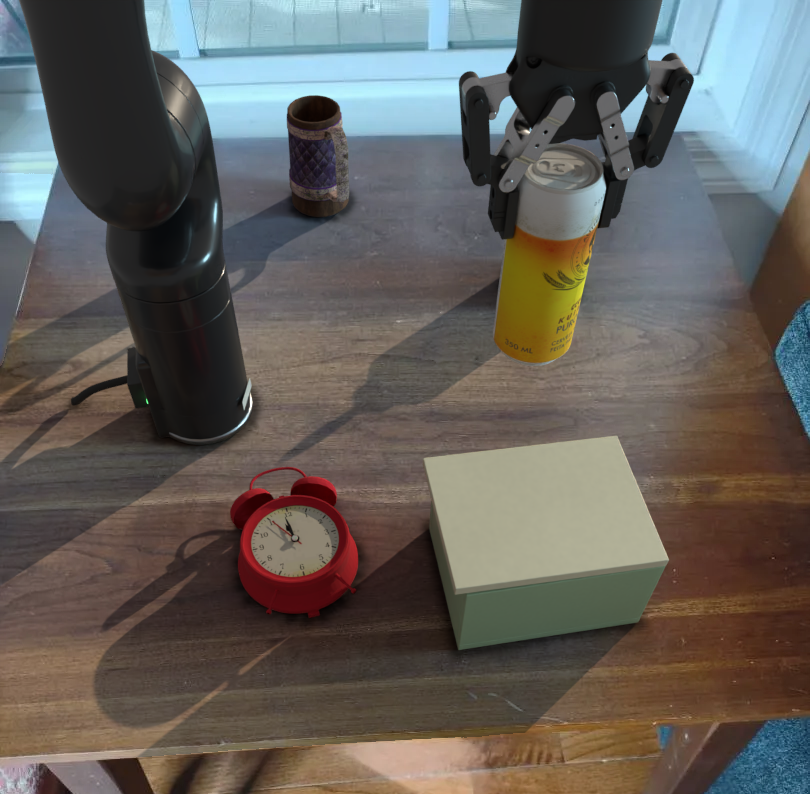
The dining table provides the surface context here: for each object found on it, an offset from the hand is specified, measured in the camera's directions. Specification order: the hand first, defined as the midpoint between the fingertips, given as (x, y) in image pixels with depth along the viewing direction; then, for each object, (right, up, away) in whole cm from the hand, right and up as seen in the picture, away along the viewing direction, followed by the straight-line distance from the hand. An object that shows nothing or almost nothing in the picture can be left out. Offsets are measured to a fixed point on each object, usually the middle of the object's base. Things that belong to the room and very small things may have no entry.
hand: (551, 225), depth 59 cm
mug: (-20, +19, +46) cm, 54 cm away
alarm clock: (-20, -22, +18) cm, 35 cm away
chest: (+1, -24, +17) cm, 30 cm away
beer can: (0, -6, +9) cm, 11 cm away
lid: (+1, -19, +9) cm, 22 cm away
